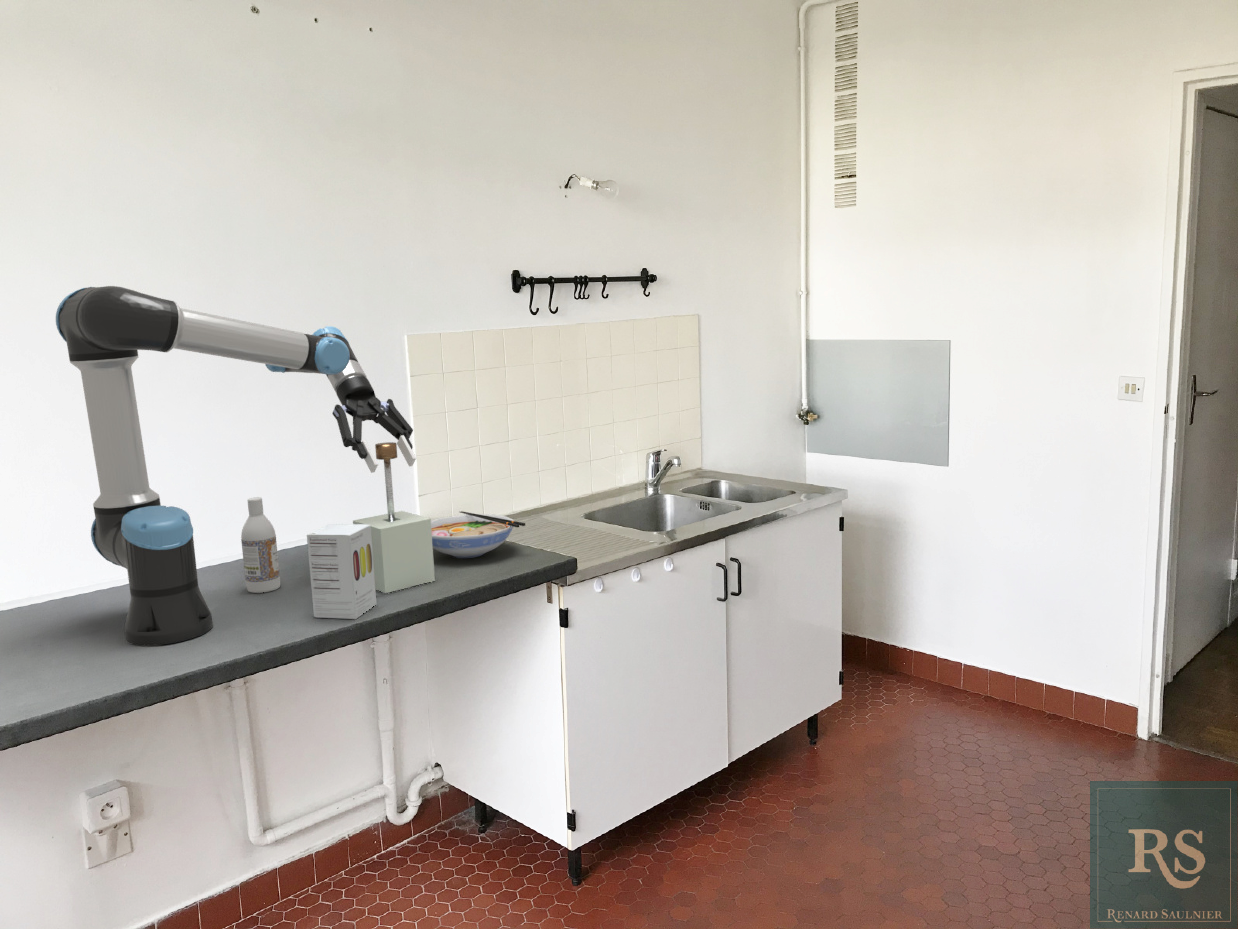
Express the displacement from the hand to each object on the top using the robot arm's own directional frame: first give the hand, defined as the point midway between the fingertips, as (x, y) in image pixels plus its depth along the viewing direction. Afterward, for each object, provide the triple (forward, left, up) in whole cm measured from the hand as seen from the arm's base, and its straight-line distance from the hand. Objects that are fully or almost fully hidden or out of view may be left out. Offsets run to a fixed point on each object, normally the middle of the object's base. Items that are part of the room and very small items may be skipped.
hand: (394, 465), depth 204 cm
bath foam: (-22, +21, -26) cm, 40 cm away
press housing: (0, +3, -26) cm, 26 cm away
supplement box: (-17, -7, -26) cm, 32 cm away
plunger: (0, +3, -14) cm, 15 cm away
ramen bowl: (+24, +10, -26) cm, 37 cm away
